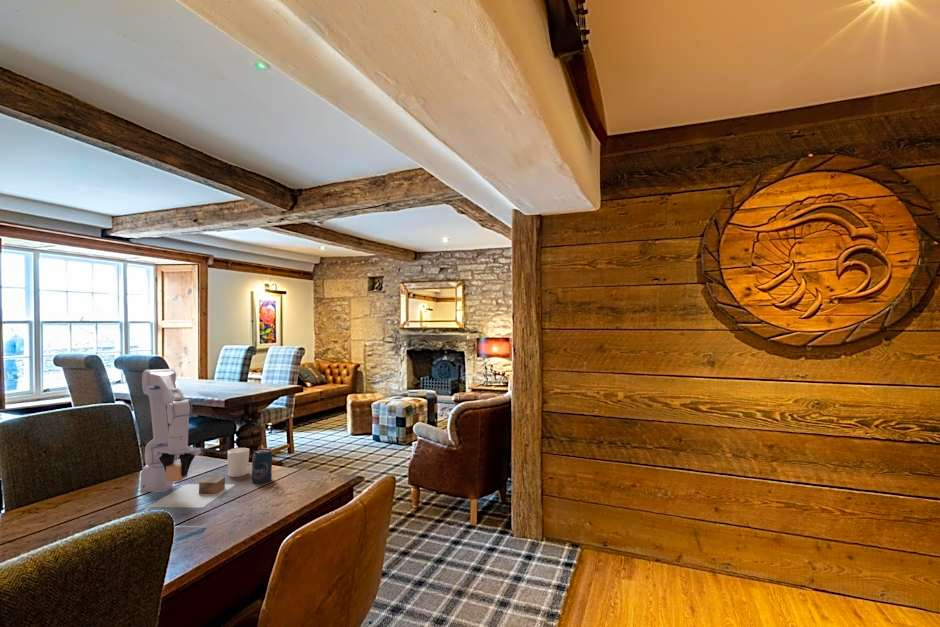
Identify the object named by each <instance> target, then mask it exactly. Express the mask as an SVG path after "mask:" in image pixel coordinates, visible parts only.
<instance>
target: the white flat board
mask: <svg viewBox="0 0 940 627" xmlns="http://www.w3.org/2000/svg"><path fill="white" fill-rule="evenodd" d="M235 485H237V484H235V483H234V484H233V483H232V484H231V483H225V488H224V489H223V490H221V491H220V492H218V493H217V494H199V483H186V484H184V485H183V486H180V487H179V488H178V489H175V490H174V491H172V492H171V493H169V494H166V495H165V496H164V497H162V498H160V499H158V500H157V501H155V502H152V503H151V504H150V505H148V506H147V508H174V509H175V508H181V509H182V508H184V509H185V508H189V509H190V508H191V509H192V508H196V509H197V508H201V509H202V508H205V506H207V505H209V504H210V503H211V502H213V501H214V500H216V499H217V498H219V497H220V496H221V495H223V494H224V493H226V492H227V491H229V490H230V489H231V488H233V487H234V486H235Z"/></svg>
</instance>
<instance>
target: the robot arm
mask: <svg viewBox="0 0 940 627" xmlns="http://www.w3.org/2000/svg"><path fill="white" fill-rule="evenodd" d="M176 380H177V373H176V370H175V369H174V368H163V369H162V368H161V369H160V368H159V369H144V371H143V372H142V375H141V386H142V389H141V390H142V391H143V392H142V393H143V395H146V396H148V400H149V407H150V417H151V418H150V419H151V426H152V427H151V428H152V437H153V438H152V439H151V440H150V441H148V443H147V444H145V447H144V463H145V465H144V466H143V467H142V469H141V471H140V472H141V473H140V481H139V482H140V487H139V490H138V492H142V493H143V492H147V493H148V492H149V493H150V492H152V493H155V492H157V493H160V492H162V493H164V492H167V491H170V490H171V489H172V488H174V487H176V486H178V485H179V483H174V482H170V481H166V466H168V465H171V464H173V463H176V462H178V460H179V461H180V463H181V467H182V469H181V475H182V477H184V476H186V475H187V476H188V473H189V470H190V467H191V464H192V462H193V460H194V459H195V457H196V456H199V455H201V453H202V449H201V447H193V446H192V447H191V446H189V423H190V421H189V420H190V417H191V415H192V413H193V404H192V401H191V399H189V398H185V396H184V394H183V392H182V391H181V390H180V389H179V388H178V387H176V385H175V383H176ZM181 455H182V456H181Z"/></svg>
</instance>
